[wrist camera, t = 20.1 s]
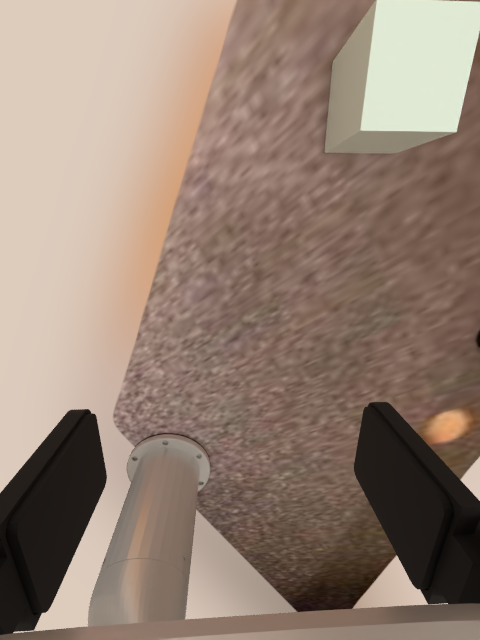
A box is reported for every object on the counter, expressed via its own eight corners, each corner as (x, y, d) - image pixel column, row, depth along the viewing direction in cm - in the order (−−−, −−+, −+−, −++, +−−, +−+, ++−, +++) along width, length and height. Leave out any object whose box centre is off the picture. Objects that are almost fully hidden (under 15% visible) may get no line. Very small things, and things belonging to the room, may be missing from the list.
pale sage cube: (395, 153, 31) (456, 131, 23) (324, 152, 31) (360, 130, 22) (410, 63, 28) (485, 2, 20) (332, 61, 28) (377, -2, 20)
